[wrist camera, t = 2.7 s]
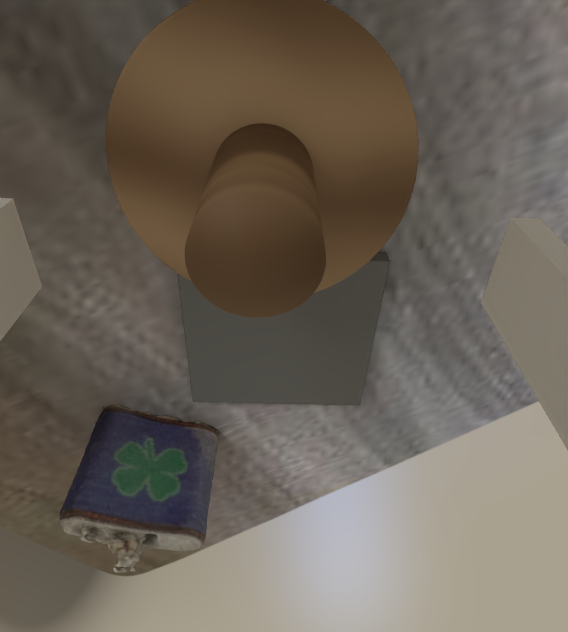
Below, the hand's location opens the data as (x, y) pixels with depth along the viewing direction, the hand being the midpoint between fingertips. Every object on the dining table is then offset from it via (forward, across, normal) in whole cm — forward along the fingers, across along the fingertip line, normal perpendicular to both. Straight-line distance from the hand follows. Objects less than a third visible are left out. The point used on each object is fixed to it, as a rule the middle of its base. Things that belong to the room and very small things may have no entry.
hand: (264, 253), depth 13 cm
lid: (+6, 0, 0) cm, 6 cm away
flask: (+13, -8, -22) cm, 27 cm away
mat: (+12, +1, -12) cm, 18 cm away
